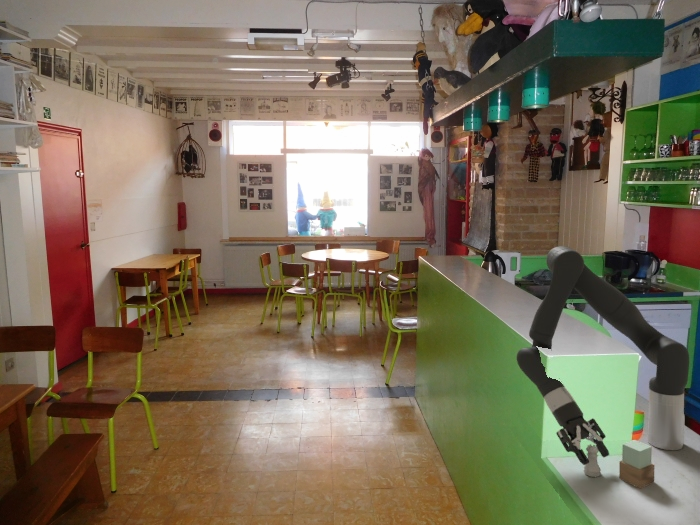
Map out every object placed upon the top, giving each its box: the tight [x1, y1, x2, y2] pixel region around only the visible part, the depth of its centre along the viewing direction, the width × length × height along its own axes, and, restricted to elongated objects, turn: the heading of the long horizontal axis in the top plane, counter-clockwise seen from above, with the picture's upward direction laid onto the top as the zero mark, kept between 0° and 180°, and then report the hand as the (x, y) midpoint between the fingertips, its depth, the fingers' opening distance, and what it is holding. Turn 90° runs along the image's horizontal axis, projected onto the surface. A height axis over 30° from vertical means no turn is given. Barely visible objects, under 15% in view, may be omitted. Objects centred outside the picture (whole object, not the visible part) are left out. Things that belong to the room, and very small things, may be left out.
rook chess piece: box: [583, 444, 602, 478], centre depth 146 cm, size 4×4×8 cm
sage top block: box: [621, 439, 653, 469], centre depth 142 cm, size 5×5×5 cm
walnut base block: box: [618, 460, 656, 489], centre depth 142 cm, size 6×6×5 cm
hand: (596, 459), depth 145 cm, fingers open, 7 cm apart
